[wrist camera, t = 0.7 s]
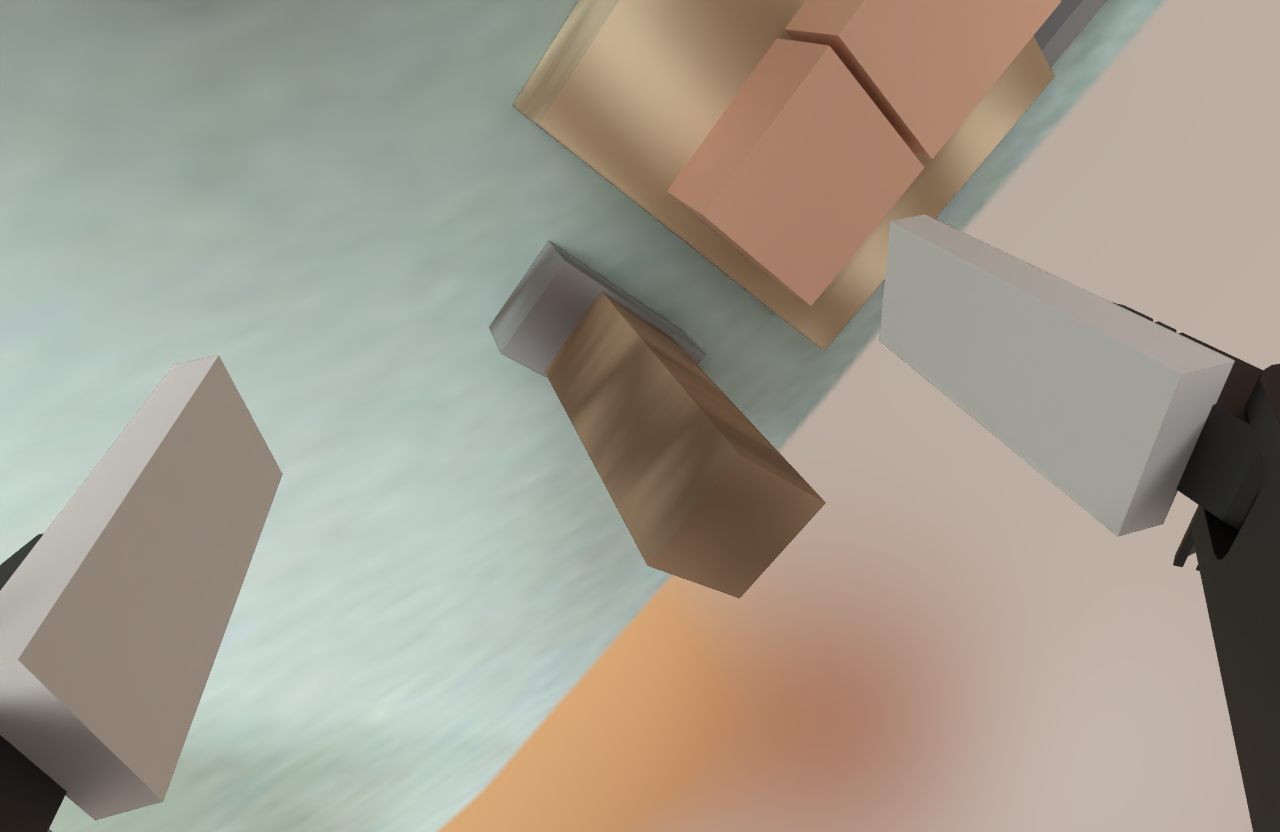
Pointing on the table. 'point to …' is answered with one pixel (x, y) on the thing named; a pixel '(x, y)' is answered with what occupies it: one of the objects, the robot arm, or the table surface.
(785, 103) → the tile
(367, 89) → the table surface
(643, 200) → the board
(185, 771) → the table surface
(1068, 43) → the tray
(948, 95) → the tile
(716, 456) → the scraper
